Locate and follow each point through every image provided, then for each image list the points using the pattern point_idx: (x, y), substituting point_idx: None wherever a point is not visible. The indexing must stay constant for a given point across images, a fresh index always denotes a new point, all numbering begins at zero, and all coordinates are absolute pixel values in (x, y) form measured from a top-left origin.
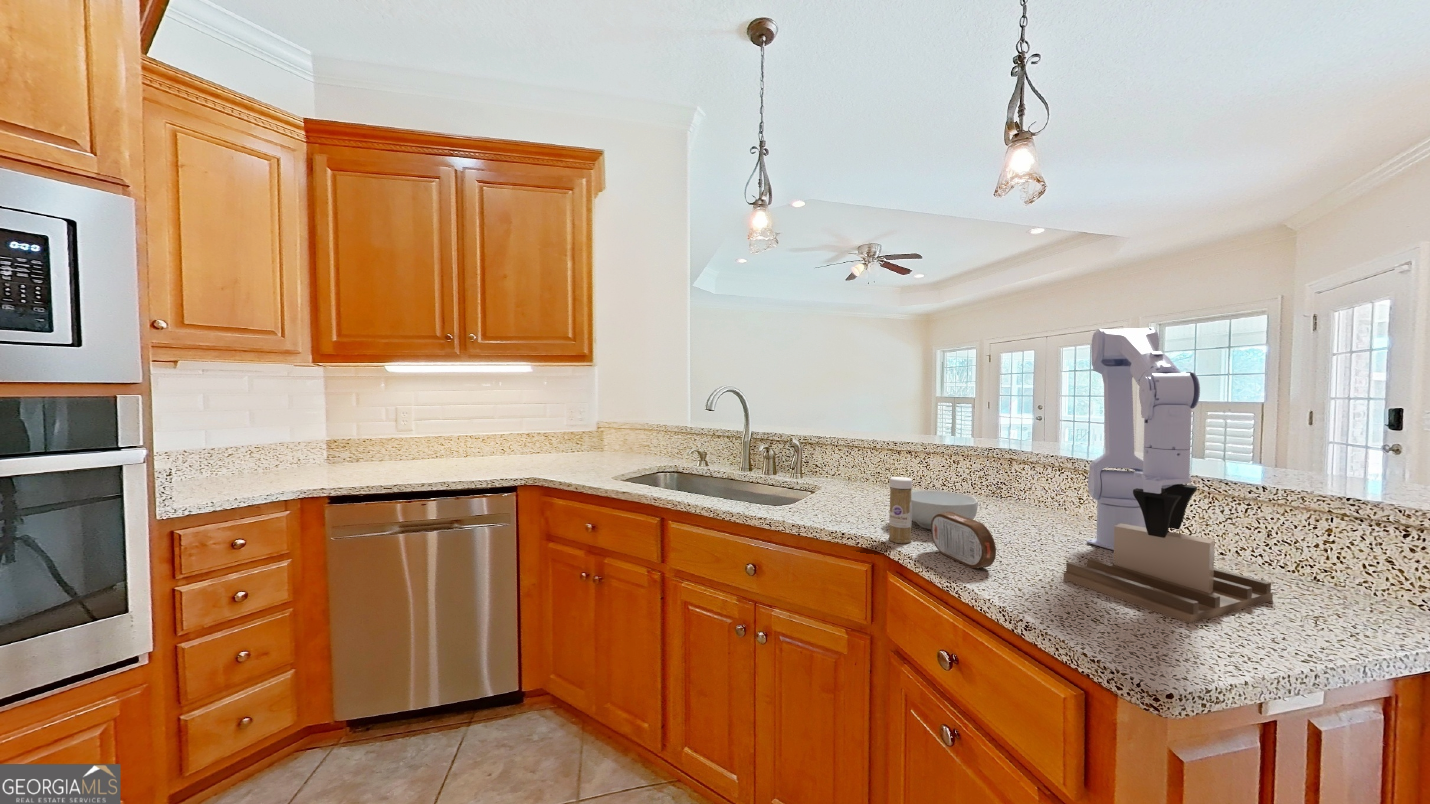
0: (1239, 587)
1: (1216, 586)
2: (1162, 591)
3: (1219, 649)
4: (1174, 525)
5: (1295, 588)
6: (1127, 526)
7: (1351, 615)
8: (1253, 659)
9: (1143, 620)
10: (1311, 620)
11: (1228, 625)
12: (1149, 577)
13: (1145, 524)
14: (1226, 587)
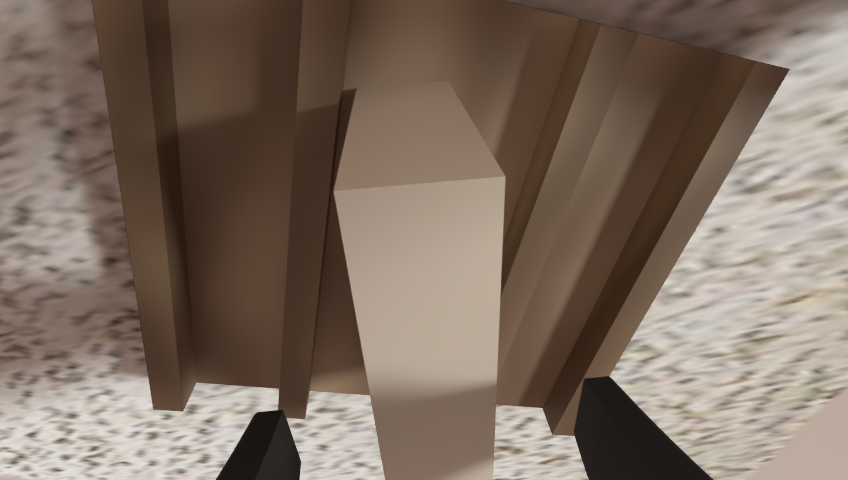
0: None
1: None
2: (164, 340)
3: (74, 425)
4: (585, 438)
5: (722, 390)
6: (425, 249)
7: (574, 468)
8: (100, 459)
9: (42, 297)
10: None
11: (258, 396)
12: (290, 265)
13: (224, 471)
14: None
